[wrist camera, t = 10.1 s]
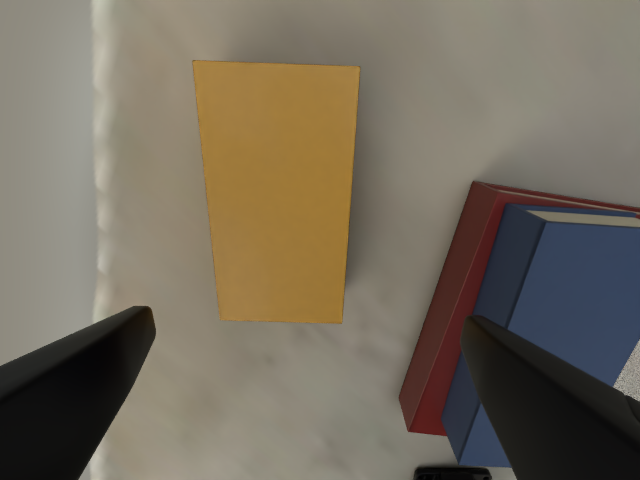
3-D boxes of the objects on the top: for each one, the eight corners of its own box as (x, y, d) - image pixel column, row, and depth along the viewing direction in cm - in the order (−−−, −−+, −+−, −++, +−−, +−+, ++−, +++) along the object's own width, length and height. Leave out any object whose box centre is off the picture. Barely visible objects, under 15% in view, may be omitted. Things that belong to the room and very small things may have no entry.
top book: (339, 295, 21) (341, 323, 18) (233, 292, 21) (219, 320, 18) (353, 74, 16) (360, 66, 13) (214, 69, 16) (191, 60, 13)
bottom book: (533, 413, 25) (558, 449, 22) (398, 397, 24) (407, 431, 21) (651, 209, 18) (706, 225, 16) (472, 180, 18) (498, 192, 15)
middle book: (533, 423, 21) (566, 470, 18) (440, 418, 21) (458, 465, 18) (631, 211, 15) (699, 232, 13) (505, 202, 15) (545, 222, 13)
